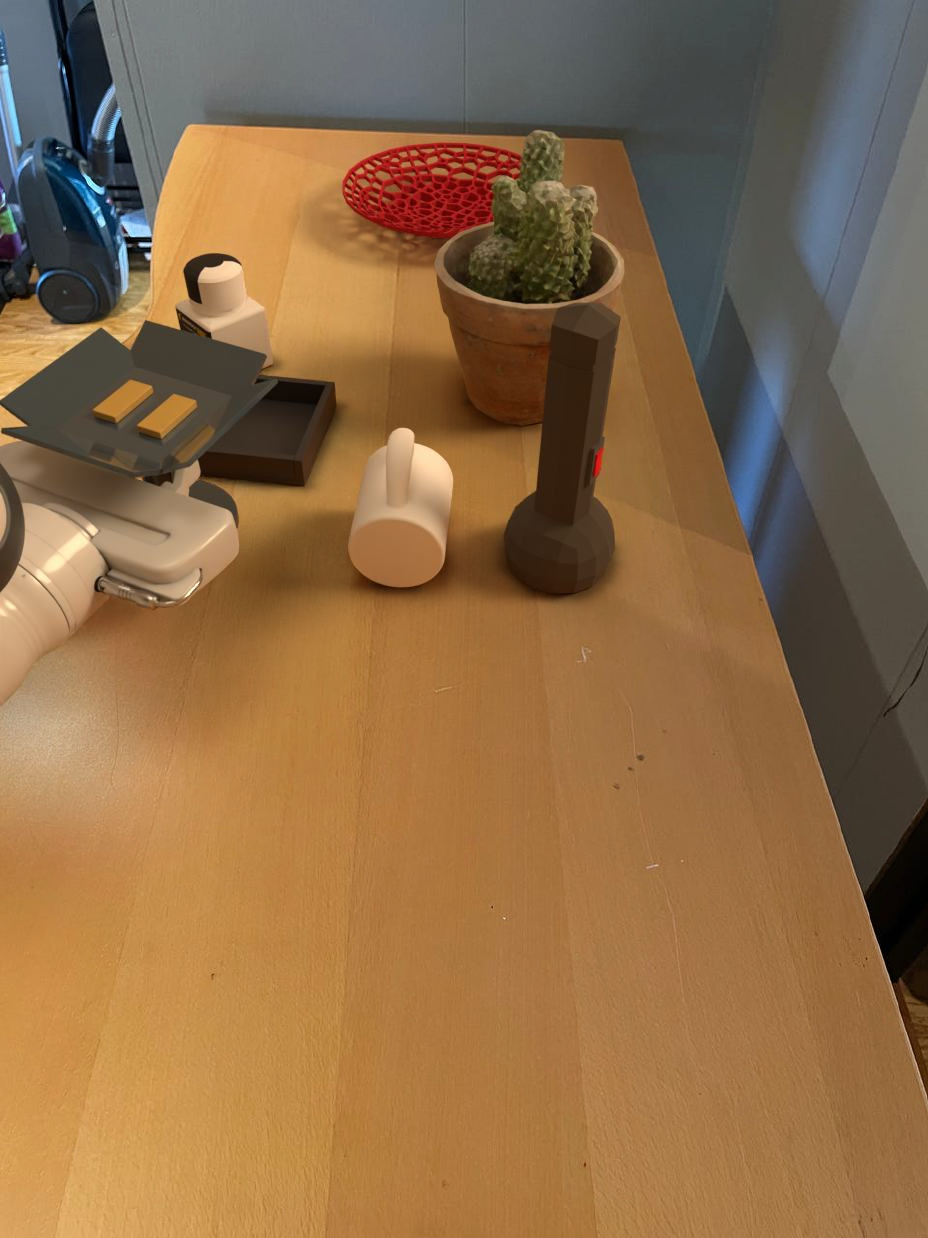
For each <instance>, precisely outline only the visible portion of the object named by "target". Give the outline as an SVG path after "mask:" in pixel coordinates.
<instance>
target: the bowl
mask: <svg viewBox="0 0 928 1238" xmlns="http://www.w3.org/2000/svg"><path fill="white" fill-rule="evenodd" d="M432 149H433V151H431V152H426V151H423V150H432ZM451 149H462V151H454V150H451ZM469 150H470V151H469ZM471 150H473V151H471ZM474 150H475V151H474ZM412 151H415V152H417V153H418V154H417V155H412V154H411V152H412ZM405 152H406V155H407V156H402V155H400V153H401V154H402V153H405ZM483 152H489V153H492V154H493V153H494V155H485V154H483ZM441 155H448V156H450V157H448V158H446V157H442V156H441ZM501 155H502V156H505V157H507V160H505V161H503V160H500V159H499V157H500V156H501ZM434 157H436V158H437V161H434V162H431V163H428V162H427V161H428V159H430V158H434ZM462 157H463V158H462ZM393 159H397V160H398V161H392V160H393ZM513 159H514V160H513ZM479 160H481V162H480V161H479ZM515 160H517V161H515ZM375 161H376V162H375ZM416 161H418V162H420V163H423V164H420V165H416V163H415V162H416ZM377 162H378V163H381V164H378V163H377ZM519 162H520V163H522V158H521V154H519V153H516V152H513V151H510V150H507V149H505V148H499V147H494V146H489V145H485V144H476V143H467V142H441V141H440V142H431V143H430V142H428V143H419V144H417V143H416V144H408V145H403V146H398V147H393V148H390V149H387V150H383V151H381V152H377V153H375V154H372V155H370V156H368V157H366V158H364V159H362V160H359V162H358V163H356V164H355V165H353V166H352V167H351V168H349V170H348V171H347V172H346V175H345V176H344V178H343V180H342V187H341V188H342V189H341V190H342V192H341V193H342V196H343V199H344V201H345V204H346V205H347V206H348V207H349V208H350V209H351V210H352V211H353V212H354V213H356V214H357V215H359V216H360V217H361V218H363V219H365V221H368V222H371V223H373V224H376V225H378V226H381V227H382V228H385V229H388V230H391V231H394V232H395V231H396V232H401V233H404V234H408V235H412V236H418V237H426V238H433V239H451V238H453V237H454V236H455V235H457V234H458V233H459V232H462V231H465V230H467V229H470V228H472V227H476V226H479V225H483V224H486V223H490V222H494V219H493V212H492V210H491V205H492V200H493V199H494V194H493V191H492V185H493V184H494V183H495V182H492V181H490V180H492V179H494V178H496V177H499V176H509V177H510V178H512V179H514V180H515V181H516V180H517V179H519V176H520V172H517V173H512V172H511V170H514V169H517V170H518V171H520V169H521V168H520V165H519ZM403 163H410V165H409V166H402V164H403ZM453 163H454V164H455V163H456V164H459V165H461V166H457V167H453V166H451V165H450V164H453ZM471 163H472V164H474V165H475V169H473V168H470V167H468V166H465V165H467V164H471ZM366 165H370V166H371V167H373V169H371V168H368V167H367V166H366ZM485 167H489V168H490V167H491V168H494V169H496V170H493V171H491V172H488V173H486V172H482V171H480V170H481V169H483V168H485ZM360 169H362V170H363V173H357V172H358V171H359V170H360ZM434 169H442V170H443V169H444V170H445V171H447V172H448V173H447V174H439V173H437V174H436V173H433V171H432V170H434ZM378 172H382V173H385V174H388V175H389V176H390V178H388V179H386V180H383V179H381V178H379V177H378V176H377V175H376V174H377V173H378ZM422 172H423V173H422ZM425 172H426V173H425ZM413 173H414V174H415V175H412V176H410V175H408V174H413ZM368 174H369V175H372V177H369V176H368ZM459 174H466V175H468V176H471V177H472V178H458V177H455V176H454V175H459ZM395 175H396V176H395ZM359 180H365V181H366V182H367V183H368V184H369V185H368V186H365V187H364V186H363V185H361V184H360V183H359V182H358V181H359ZM349 181H350V182H351V183H352V185H351V184H349V183H348V182H349ZM402 182H406V183H409V184H403V183H402ZM375 183H376V184H377V185H379V186H380V188H379V187H376V186H374V185H373V184H375ZM427 183H429V184H427ZM394 185H395V186H396V187H397V189H398V190H399V191H395V192H390V191H387V190H385V189H386V188H388V187H391V186H394ZM346 189H347V190H349V192H348V191H346ZM370 193H374V194H376V195H378V197H377V196H376V195H373V194H370ZM383 198H384V199H387V200H389V201H391V202H385V201H384V200H383ZM371 202H373V203H371Z"/></svg>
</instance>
